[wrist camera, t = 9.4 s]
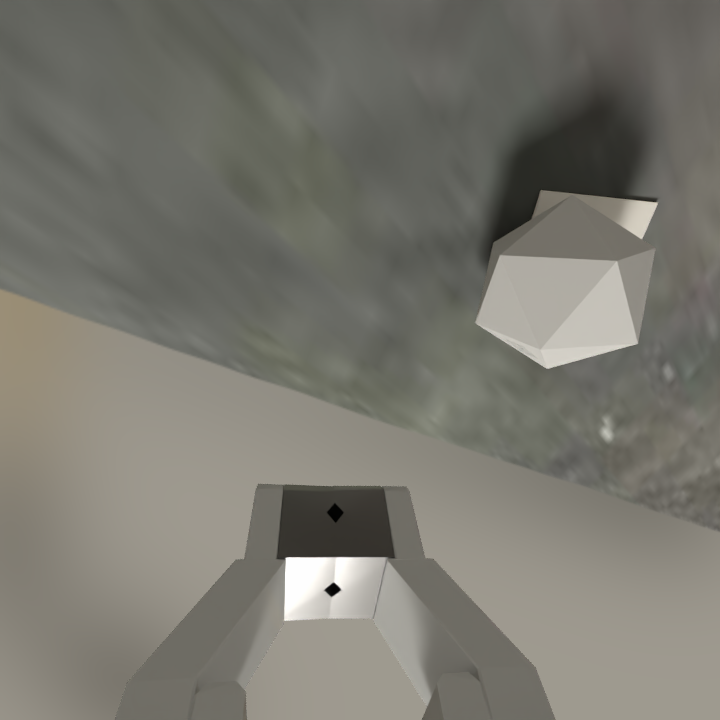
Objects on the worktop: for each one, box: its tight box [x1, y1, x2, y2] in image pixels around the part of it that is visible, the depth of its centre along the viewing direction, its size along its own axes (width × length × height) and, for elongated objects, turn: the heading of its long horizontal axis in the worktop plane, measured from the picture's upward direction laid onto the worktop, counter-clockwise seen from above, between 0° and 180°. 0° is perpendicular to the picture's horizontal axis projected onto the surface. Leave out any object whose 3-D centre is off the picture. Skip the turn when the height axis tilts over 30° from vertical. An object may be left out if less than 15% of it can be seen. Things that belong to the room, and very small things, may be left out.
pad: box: [532, 190, 658, 239], centre depth 27 cm, size 8×8×1 cm
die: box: [475, 195, 655, 369], centre depth 24 cm, size 8×9×10 cm
